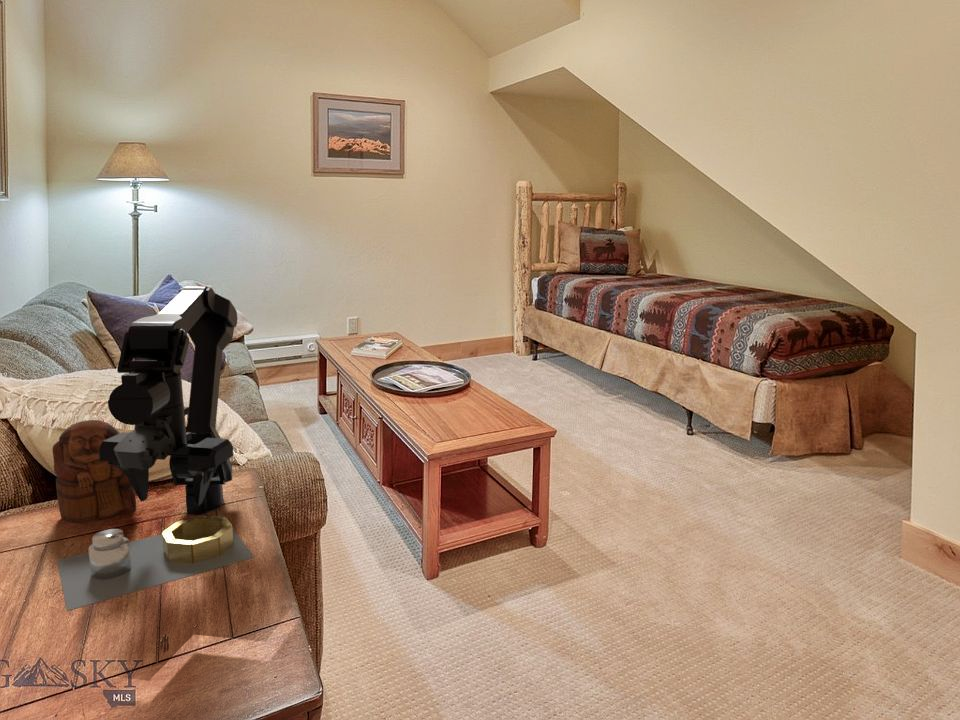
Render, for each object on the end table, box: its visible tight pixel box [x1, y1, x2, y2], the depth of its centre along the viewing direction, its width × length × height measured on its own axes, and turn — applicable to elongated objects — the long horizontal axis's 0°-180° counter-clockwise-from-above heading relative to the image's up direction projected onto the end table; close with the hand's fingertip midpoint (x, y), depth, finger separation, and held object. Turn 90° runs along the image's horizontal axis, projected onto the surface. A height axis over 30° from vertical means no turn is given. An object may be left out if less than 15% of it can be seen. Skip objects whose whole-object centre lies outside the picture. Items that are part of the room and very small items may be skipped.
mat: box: [56, 529, 256, 612], centre depth 96 cm, size 24×16×2 cm, turn 127°
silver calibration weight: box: [88, 528, 131, 580], centre depth 91 cm, size 5×5×6 cm
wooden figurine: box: [51, 419, 137, 524], centre depth 109 cm, size 12×6×18 cm, turn 122°
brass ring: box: [161, 515, 234, 563], centre depth 99 cm, size 9×9×3 cm
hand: (171, 502), depth 98 cm, fingers open, 9 cm apart
